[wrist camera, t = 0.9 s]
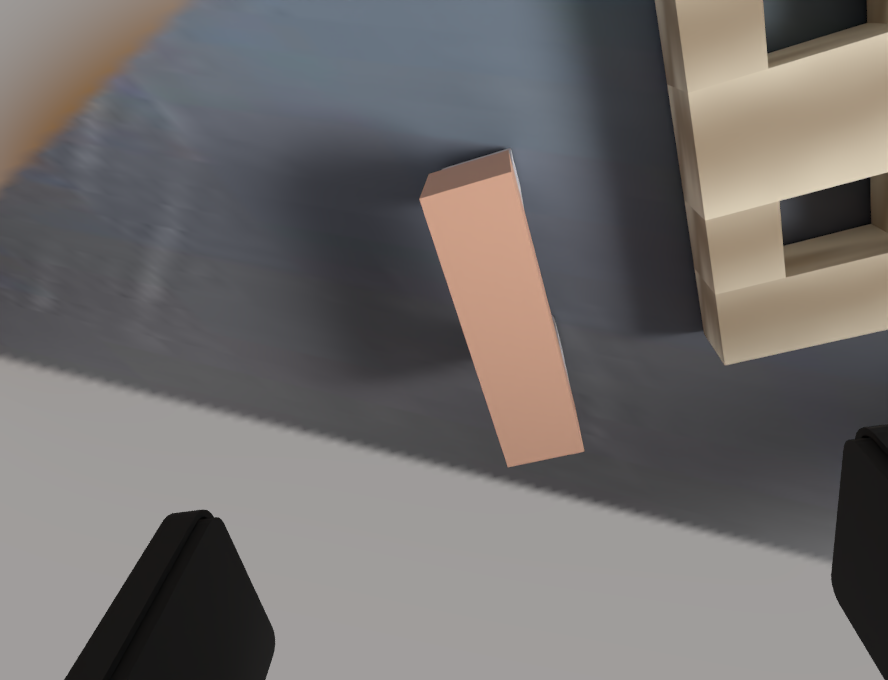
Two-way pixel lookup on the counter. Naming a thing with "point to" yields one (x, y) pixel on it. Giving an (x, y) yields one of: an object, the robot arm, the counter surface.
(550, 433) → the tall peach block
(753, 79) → the beige flat slotted block
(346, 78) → the counter surface
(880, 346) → the counter surface
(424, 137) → the counter surface
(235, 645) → the robot arm
